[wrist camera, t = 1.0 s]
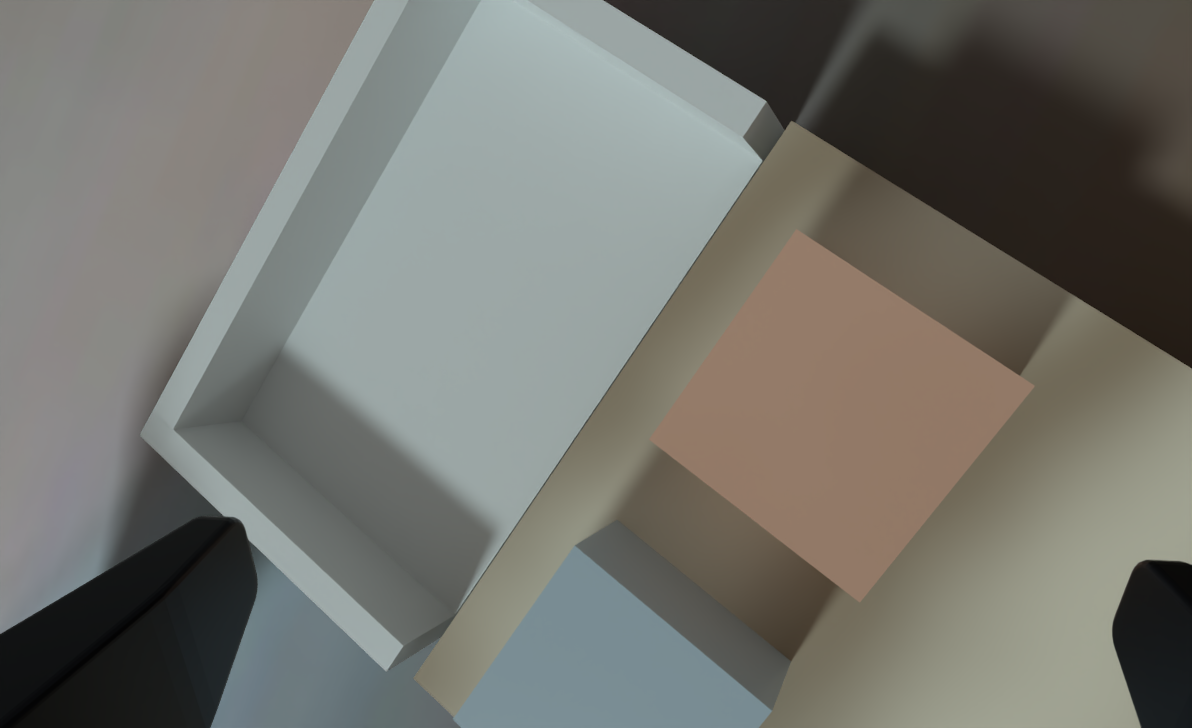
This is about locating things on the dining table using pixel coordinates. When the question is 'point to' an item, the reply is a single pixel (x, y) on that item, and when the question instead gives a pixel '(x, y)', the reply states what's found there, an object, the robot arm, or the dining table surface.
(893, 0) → the dining table surface
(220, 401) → the tray
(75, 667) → the robot arm
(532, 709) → the tile back
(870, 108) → the dining table surface
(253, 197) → the dining table surface
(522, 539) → the board
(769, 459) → the tile front
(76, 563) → the dining table surface
